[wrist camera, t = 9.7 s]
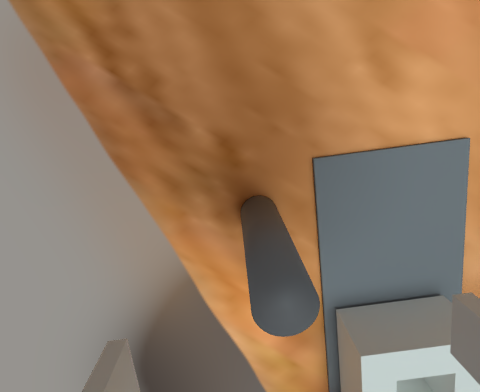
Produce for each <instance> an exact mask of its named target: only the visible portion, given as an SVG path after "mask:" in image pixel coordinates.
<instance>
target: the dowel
mask: <svg viewBox="0 0 480 392" xmlns="http://www.w3.org/2000/svg"><path fill="white" fill-rule="evenodd" d="M241 222H242V231H243V240H244V249H245V258H246V267H247V276H248V285H249V294H250V303H251V312H252V316H253V319H254V321H255V322H256V324H257V325H258V326H259V327H260V328H261V329H262V330H263V331H265V332H267V333H269V334H271V335H275V336H283V337H285V336H292V335H296V334H299V333H301V332H303V331H304V330H306V329H307V328H308V327H310V326H311V325H312V323H313V322H314V321H315V319H316V317H317V315H318V312H319V308H320V301H319V297H318V294H317V292H316V290H315V288H314V286H313V283H312V281H311V279H310V277H309V275H308V273H307V271H306V269H305V267H304V264H303V262H302V260H301V258H300V256H299V254H298V252H297V250H296V247H295V245H294V243H293V241H292V239H291V237H290V235H289V233H288V231H287V228H286V226H285V224H284V222H283V220H282V218H281V216H280V214H279V212H278V209H277V207H276V205H275V203H274V202H273V201H272V200H271V199H269V198H268V197H265V196H254V197H251V198H249V199H248V200H247V201H246V202H245V203H244V204H243V206H242V208H241Z"/></svg>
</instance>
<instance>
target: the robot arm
mask: <svg viewBox="0 0 480 392" xmlns="http://www.w3.org/2000/svg"><path fill="white" fill-rule="evenodd" d="M450 353H451V354H452V355H453V356H454V358H455V359H456V360H457V361H458V362H459V363H460V364H461V365H462V366H463V367H464V368H465V370H466V371H467V372H468V373H469V374H470V375H471V376H472V377H473V378H474V379H475V380H476V381H477V383H478V384H479V385H480V299H479V298H478V297H477V296H475V295H474V294H473V293H464V294H456V295H452V321H451V348H450ZM82 392H140V389H139V384H138V381H137V377H136V373H135V368H134V364H133V361H132V356H131V353H130V348H129V345H128V341H127V339H122V340H114V341H108V342H107V345H106V346H105V348H104V350H103V352H102V354H101V356H100V358H99V360H98V362H97V364H96V365H95V367H94V369H93V371H92V373H91V375H90V377H89V379H88V381H87V383H86V385H85V387H84V389H83V391H82Z"/></svg>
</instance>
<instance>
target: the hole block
mask: <svg viewBox="0 0 480 392" xmlns="http://www.w3.org/2000/svg"><path fill="white" fill-rule="evenodd" d="M336 317H337V334H338V351H339V368H340V385H341V392H480V385H479V384H478V383H477V381H476V380H475V379H474V378H473V377H472V376H471V375H470V374H469V373H468V372H467V371H466V370H465V368H464V367H463V366H462V365H461V364H460V363H459V362H458V361H457V360H456V359H455V358H454V356H453V355H452V354H451V353H450V348H451V321H452V303H451V302H450V301H449V300H448V299H447V298H446V297H444V296H443V295H442V296H435V297H427V298H420V299H412V300H404V301H397V302H389V303H382V304H374V305H366V306H359V307H351V308H344V309H336Z"/></svg>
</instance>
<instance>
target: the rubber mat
mask: <svg viewBox="0 0 480 392" xmlns="http://www.w3.org/2000/svg"><path fill="white" fill-rule="evenodd" d="M469 149H470V138H462V139H454V140H446V141H439V142H431V143H424V144H416V145H409V146H401V147H393V148H386V149H378V150H371V151H363V152H356V153H348V154H341V155H333V156H325V157H318V158H313V171H314V185H315V199H316V214H317V228H318V242H319V256H320V270H321V285H322V299H323V313H324V327H325V341H326V356H327V370H328V384H329V392H341V385H340V368H339V351H338V334H337V317H336V309H344V308H351V307H359V306H366V305H374V304H382V303H389V302H397V301H404V300H412V299H420V298H427V297H435V296H442V295H443V296H444V297H446V298H447V299H448V300H449V301H450V302H451V303H452V295H456V294H462V276H463V258H464V240H465V222H466V204H467V185H468V167H469Z"/></svg>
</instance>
